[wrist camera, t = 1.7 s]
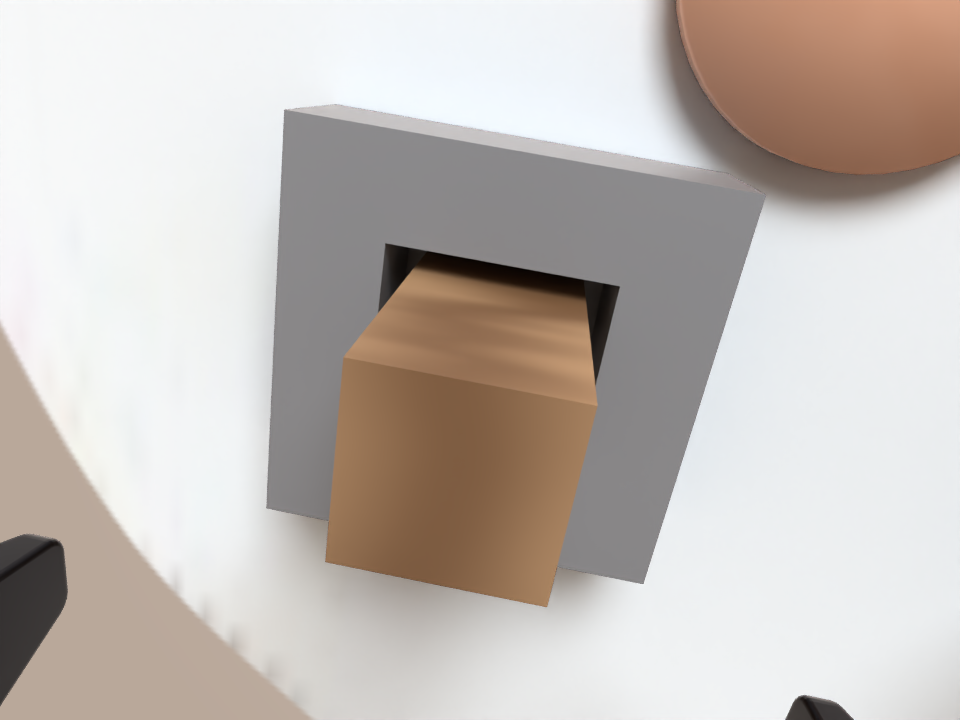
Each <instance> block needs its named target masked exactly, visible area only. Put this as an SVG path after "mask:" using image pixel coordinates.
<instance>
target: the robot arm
mask: <svg viewBox="0 0 960 720" xmlns="http://www.w3.org/2000/svg"><path fill="white" fill-rule="evenodd" d="M67 593H68V589H67V578H66V567H65V556H64V548H63V546H62V544H61V543H60V541H58V540H56V539H53V538H49V537H43V536H39V535H34V534H23V535H20V536H17V537H15V538H12V539H9V540H7V541H4V542H2V543H0V706H1V704H2V702H3V701H4V699H5V698H6V696H7V695H8V693H9V692H10V690H11V689H12V687H13V686H14V684H15V683H16V681H17V679H18V678H19V676H20V675H21V673H22V672H23V670H24V669H25V667H26V666H27V664H28V663H29V661H30V659H31V658H32V656H33V655H34V653H35V652H36V650H37V649H38V647H39V646H40V644H41V643H42V641H43V640H44V638H45V636H46V635H47V633H48V632H49V630H50V629H51V627H52V626H53V624H54V623H55V621H56V620H57V618H58V617H59V615H60V613H61V611H62V610H63V608H64V605H65V602H66V599H67ZM785 720H854V719H853V718H852V717H851V716H850V715H849V714H848V713H847V712H846V711H845V710H844V709H843V708H842V707H841V706H840V705H839V704H837V703H836V702H833V701H831V700H826V699H821V698H817V697H812V696H807V695H802V696H799V697H798V698H796V699H795V701H794V702H793V704H792V706H791V708H790V711H789V713H788V715H787V717H786V719H785Z"/></svg>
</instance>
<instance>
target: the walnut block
mask: <svg viewBox="0 0 960 720" xmlns="http://www.w3.org/2000/svg"><path fill="white" fill-rule="evenodd" d="M597 406H598V405H597V396H596V387H595V378H594V369H593V360H592V351H591V341H590V332H589V323H588V314H587V305H586V296H585V287H584V280H583V279H578V278H572V277H567V276H561V275H556V274H550V273H545V272H540V271H534V270H529V269H523V268H518V267H512V266H507V265H501V264H496V263H491V262H485V261H480V260H474V259H469V258H463V257H458V256H452V255H447V254H442V253H436V252H431V251H427V252H426V253H425V255H424V256H423V257H422V258H421V260H420V261H419V262H418V264H417V265H416V266H415V267H414V269H413V270H412V271H411V272H410V274H409V275H408V276H407V277H406V279H405V280H404V281H403V282H402V284H401V285H400V286H399V287H398V289H397V290H396V291H395V293H394V294H393V295H392V296H391V298H390V299H389V300H388V301H387V303H386V304H385V305H384V306H383V308H382V309H381V310H380V311H379V313H378V314H377V315H376V317H375V318H374V319H373V320H372V322H371V323H370V324H369V325H368V327H367V328H366V329H365V330H364V332H363V333H362V334H361V335H360V337H359V338H358V339H357V341H356V342H355V343H354V344H353V346H352V347H351V348H350V349H349V351H348V352H347V353H346V354H345V356H344V357H343V366H342V378H341V389H340V400H339V412H338V423H337V435H336V446H335V457H334V469H333V480H332V491H331V503H330V514H329V526H328V537H327V548H326V560H325V562H328V563H333V564H337V565H342V566H347V567H352V568H357V569H362V570H367V571H372V572H377V573H382V574H386V575H391V576H396V577H401V578H406V579H411V580H416V581H421V582H426V583H431V584H436V585H440V586H445V587H450V588H455V589H460V590H465V591H470V592H475V593H480V594H485V595H489V596H494V597H499V598H504V599H509V600H514V601H519V602H524V603H529V604H534V605H538V606H543V607H547V605H548V601H549V597H550V593H551V589H552V585H553V581H554V577H555V573H556V569H557V565H558V561H559V557H560V553H561V549H562V545H563V541H564V537H565V533H566V529H567V525H568V521H569V517H570V514H571V510H572V506H573V502H574V498H575V494H576V490H577V486H578V482H579V478H580V474H581V470H582V466H583V462H584V458H585V454H586V450H587V446H588V442H589V438H590V434H591V430H592V426H593V422H594V418H595V414H596V410H597Z"/></svg>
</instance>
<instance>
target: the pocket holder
mask: <svg viewBox="0 0 960 720" xmlns="http://www.w3.org/2000/svg"><path fill="white" fill-rule="evenodd" d="M765 197H766V194H764V193H762V192H760V191H759V190H757V189H755V188H753V187H751V186H750V185H748V184H746V183H744V182H742V181H741V180H739V179H737V178H735V177H733V176H732V175H730V174H728V173H723V172H717V171H712V170H706V169H700V168H695V167H689V166H683V165H677V164H672V163H666V162H660V161H655V160H649V159H643V158H638V157H632V156H626V155H621V154H615V153H609V152H604V151H598V150H592V149H586V148H581V147H575V146H569V145H564V144H558V143H552V142H547V141H541V140H535V139H530V138H524V137H518V136H513V135H507V134H501V133H495V132H490V131H484V130H478V129H473V128H467V127H461V126H456V125H450V124H444V123H439V122H433V121H427V120H422V119H416V118H410V117H404V116H399V115H393V114H387V113H382V112H376V111H370V110H365V109H359V108H353V107H348V106H342V105H336V104H334V105H324V106H314V107H305V108H295V109H285V110H284V129H283V151H282V174H281V196H280V218H279V240H278V263H277V285H276V307H275V329H274V352H273V374H272V396H271V418H270V440H269V463H268V485H267V507H266V508H268V509H272V510H277V511H282V512H287V513H292V514H297V515H302V516H307V517H312V518H317V519H322V520H327V521H329V514H330V503H331V491H332V480H333V469H334V457H335V446H336V435H337V423H338V412H339V400H340V389H341V378H342V366H343V357H344V356H345V354H346V353H347V352H348V351H349V349H350V348H351V347H352V346H353V344H354V343H355V342H356V341H357V339H358V338H359V337H360V335H361V334H362V333H363V332H364V330H365V329H366V328H367V327H368V325H369V324H370V323H371V322H372V320H373V319H374V318H375V317H376V315H377V314H378V313H379V311H380V310H381V309H382V308H383V306H384V305H385V304H386V303H387V301H388V300H389V299H390V298H391V296H392V295H393V294H394V293H395V291H396V290H397V289H398V287H399V286H400V285H401V284H402V282H403V281H404V280H405V279H406V277H407V276H408V275H409V274H410V272H411V271H412V270H413V269H414V267H415V266H416V265H417V264H418V262H419V261H420V260H421V258H422V257H423V256H424V255H425V253H426V252H427V251H431V252H436V253H442V254H447V255H452V256H458V257H463V258H469V259H474V260H480V261H485V262H491V263H496V264H501V265H507V266H512V267H518V268H523V269H529V270H534V271H540V272H545V273H550V274H556V275H561V276H567V277H572V278H578V279H583V280H584V287H585V296H586V305H587V314H588V323H589V332H590V341H591V351H592V360H593V369H594V378H595V387H596V396H597V405H598V406H597V410H596V414H595V418H594V422H593V426H592V430H591V434H590V438H589V442H588V446H587V450H586V454H585V458H584V462H583V466H582V470H581V474H580V478H579V482H578V486H577V490H576V494H575V498H574V502H573V506H572V510H571V514H570V517H569V521H568V525H567V529H566V533H565V537H564V541H563V545H562V549H561V553H560V557H559V561H558V565H557V567H560V568H565V569H570V570H575V571H580V572H585V573H590V574H595V575H600V576H605V577H610V578H615V579H620V580H625V581H630V582H635V583H640V584H643V583H644V580H645V577H646V574H647V571H648V567H649V564H650V561H651V558H652V555H653V552H654V548H655V545H656V542H657V539H658V536H659V533H660V529H661V526H662V523H663V520H664V517H665V514H666V510H667V507H668V504H669V501H670V498H671V495H672V491H673V488H674V485H675V482H676V479H677V476H678V472H679V469H680V466H681V463H682V460H683V457H684V453H685V450H686V447H687V444H688V441H689V437H690V434H691V431H692V428H693V425H694V422H695V418H696V415H697V412H698V409H699V406H700V403H701V399H702V396H703V393H704V390H705V387H706V384H707V380H708V377H709V374H710V371H711V368H712V365H713V361H714V358H715V355H716V352H717V349H718V346H719V342H720V339H721V336H722V333H723V330H724V327H725V323H726V320H727V317H728V314H729V311H730V308H731V304H732V301H733V298H734V295H735V292H736V289H737V285H738V282H739V279H740V276H741V273H742V270H743V266H744V263H745V260H746V257H747V254H748V251H749V247H750V244H751V241H752V238H753V235H754V232H755V228H756V225H757V222H758V219H759V216H760V213H761V209H762V206H763V203H764V200H765Z"/></svg>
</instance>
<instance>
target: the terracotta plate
mask: <svg viewBox="0 0 960 720" xmlns="http://www.w3.org/2000/svg"><path fill="white" fill-rule="evenodd" d="M676 13H677V19H678V24H679V29H680V35H681V40H682V43H683V46H684V49H685V52H686V55H687V58H688V61H689V64H690V66H691V68H692V71H693V73H694V75H695V77H696V79H697V81H698V83H699V85H700V87H701V88H702V90H703V91H704V93H705V94H706V96H707V97H708V99H709V100H710V102H711V103H712V105H713V106H714V108H715V109H716V110H717V111H718V112H719V113H720V114H721V115H722V116H723V117H724V118H725V120H726V121H727V122H728V123H729V124H730V125H731V126H732V127H734V128H735V129H736V130H737V131H738V132H740V133H741V134H742V135H743V136H745V137H746V138H747V139H748V140H750V141H751V142H753V143H755V144H757V145H758V146H760V147H762V148H763V149H765V150H767V151H769V152H771V153H773V154H775V155H778V156H780V157H783V158H785V159H788V160H790V161H793V162H796V163H799V164H802V165H804V166H808V167H812V168H816V169H820V170H824V171H829V172H836V173H845V174H855V175H862V174H887V173H893V172H900V171H907V170H912V169H916V168H920V167H924V166H927V165H931V164H935V163H938V162H941V161H944V160H946V159H949V158H951V157H954V156H956V155H959V154H960V0H676Z"/></svg>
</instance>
